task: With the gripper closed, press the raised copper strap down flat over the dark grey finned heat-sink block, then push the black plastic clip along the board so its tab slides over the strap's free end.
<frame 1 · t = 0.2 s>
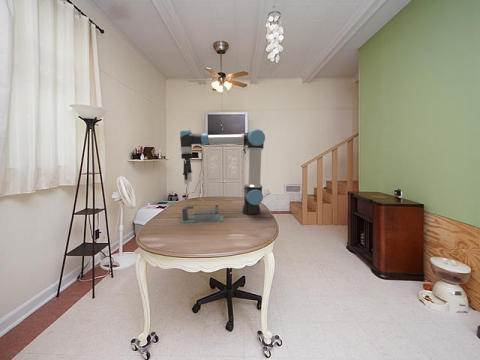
hand: (188, 182, 149), 27 cm above the table, fingers open, 13 cm apart
heatsink: (207, 219, 153), resting on board
clip: (188, 212, 151), point 5 cm above the table, slide at 0.0 cm
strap: (208, 203, 152), point 11 cm above the table, hinge at 35.0°
board: (202, 219, 153), on the table
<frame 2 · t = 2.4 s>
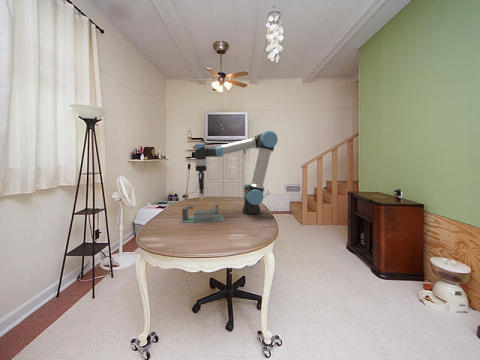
hand: (202, 197, 151), 16 cm above the table, fingers closed
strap: (208, 203, 152), point 11 cm above the table, hinge at 35.0°, touching gripper
everything else where it was.
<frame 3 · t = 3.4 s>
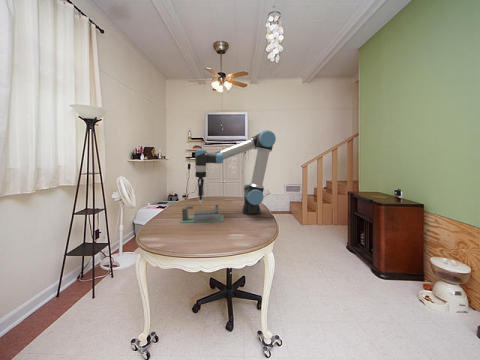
hand: (200, 203, 151), 12 cm above the table, fingers closed
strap: (206, 206, 152), point 9 cm above the table, hinge at 18.0°, touching gripper
everything else where it was.
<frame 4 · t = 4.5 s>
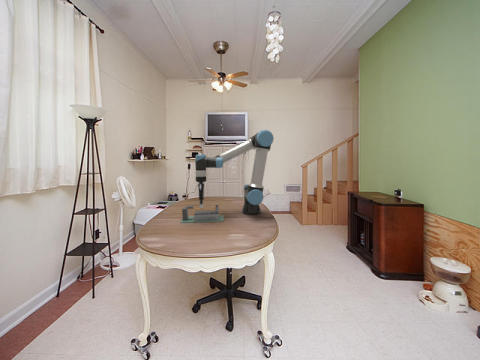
hand: (201, 208, 152), 8 cm above the table, fingers closed
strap: (206, 209, 152), point 8 cm above the table, hinge at 4.3°, touching gripper
everything else where it was.
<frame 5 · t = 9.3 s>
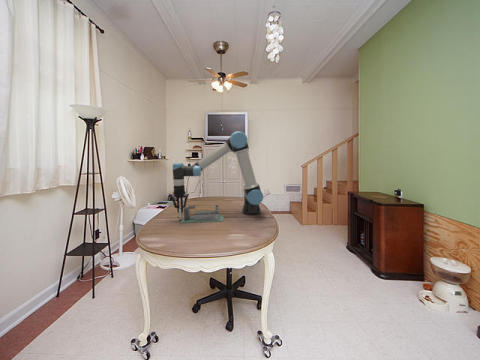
hand: (180, 217, 151), 2 cm above the table, fingers closed
clip: (190, 212, 152), point 5 cm above the table, slide at 1.2 cm, touching gripper
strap: (206, 209, 152), point 8 cm above the table, hinge at 4.2°
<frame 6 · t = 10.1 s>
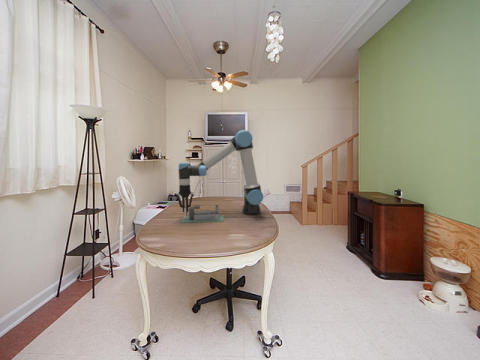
hand: (185, 216, 152), 3 cm above the table, fingers closed
clip: (195, 212, 152), point 5 cm above the table, slide at 4.8 cm, touching gripper
everything else where it was.
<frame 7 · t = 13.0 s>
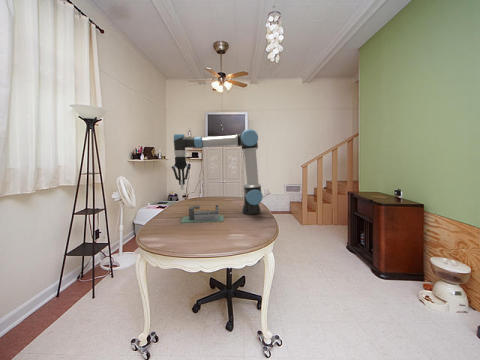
hand: (182, 189, 150), 23 cm above the table, fingers closed
clip: (194, 212, 152), point 5 cm above the table, slide at 4.6 cm
everything else where it was.
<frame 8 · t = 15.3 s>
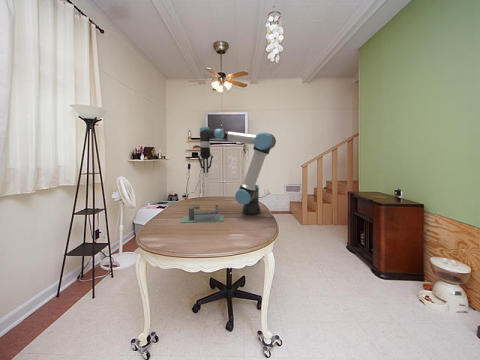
hand: (206, 176, 167), 29 cm above the table, fingers closed
nothing on the table moved.
at the end: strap at +4° (first picture: +35°); clip slide at 4.6 cm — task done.
